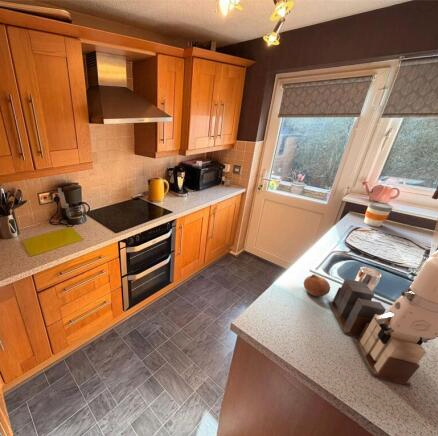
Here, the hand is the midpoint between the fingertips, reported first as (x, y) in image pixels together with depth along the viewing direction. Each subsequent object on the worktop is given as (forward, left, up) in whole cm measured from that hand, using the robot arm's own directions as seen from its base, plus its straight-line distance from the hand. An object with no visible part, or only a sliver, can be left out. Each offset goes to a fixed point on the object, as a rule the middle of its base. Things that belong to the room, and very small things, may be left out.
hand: (396, 343), depth 70 cm
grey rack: (+2, -18, -11) cm, 20 cm away
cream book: (0, 0, -8) cm, 8 cm away
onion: (+11, -31, -11) cm, 34 cm away
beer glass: (-6, -33, -11) cm, 35 cm away
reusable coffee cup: (-52, -127, -11) cm, 137 cm away
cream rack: (0, -1, -11) cm, 11 cm away
